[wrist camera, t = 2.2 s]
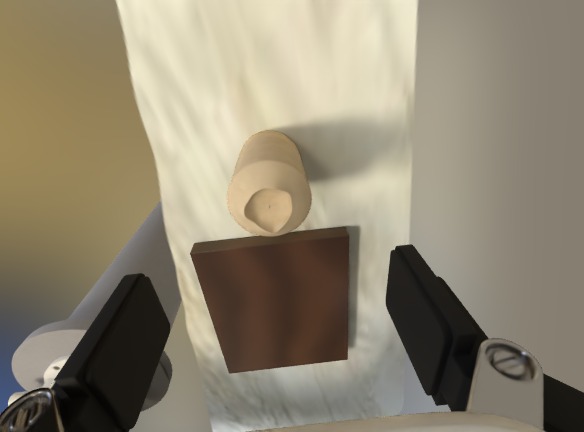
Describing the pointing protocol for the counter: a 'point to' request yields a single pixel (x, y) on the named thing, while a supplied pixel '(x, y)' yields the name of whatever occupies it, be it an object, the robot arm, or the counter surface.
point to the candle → (269, 186)
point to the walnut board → (277, 297)
